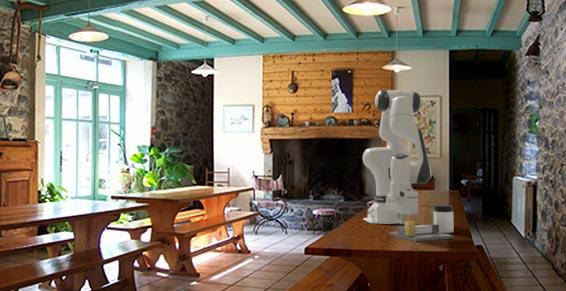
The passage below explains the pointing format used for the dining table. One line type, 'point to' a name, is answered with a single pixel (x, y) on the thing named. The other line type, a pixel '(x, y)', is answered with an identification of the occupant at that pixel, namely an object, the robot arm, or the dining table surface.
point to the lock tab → (410, 228)
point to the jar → (443, 218)
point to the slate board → (423, 236)
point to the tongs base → (402, 229)
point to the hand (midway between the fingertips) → (401, 223)
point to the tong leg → (427, 229)
